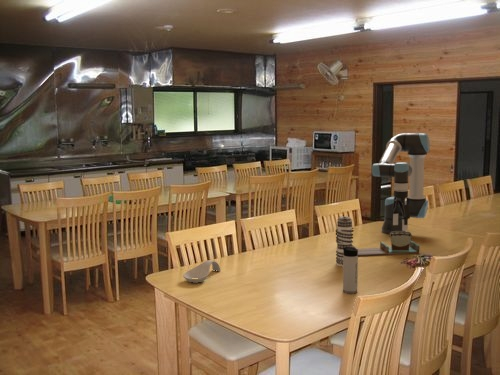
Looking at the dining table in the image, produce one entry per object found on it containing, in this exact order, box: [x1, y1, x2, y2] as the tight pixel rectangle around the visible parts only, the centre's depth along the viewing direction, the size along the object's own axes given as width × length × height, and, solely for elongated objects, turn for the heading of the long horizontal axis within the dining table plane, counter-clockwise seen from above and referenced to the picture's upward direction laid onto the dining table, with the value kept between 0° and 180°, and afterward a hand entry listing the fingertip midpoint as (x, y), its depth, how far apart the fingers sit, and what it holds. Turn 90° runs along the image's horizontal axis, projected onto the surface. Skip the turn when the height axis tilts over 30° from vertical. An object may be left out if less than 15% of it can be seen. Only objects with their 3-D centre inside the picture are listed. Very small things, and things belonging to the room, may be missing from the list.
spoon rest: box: [183, 260, 221, 284], centre depth 244 cm, size 24×12×7 cm, turn 151°
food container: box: [389, 231, 413, 251], centre depth 284 cm, size 12×6×10 cm, turn 86°
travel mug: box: [342, 247, 359, 295], centre depth 221 cm, size 6×7×20 cm
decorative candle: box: [335, 215, 355, 268], centre depth 260 cm, size 9×9×25 cm
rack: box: [352, 239, 421, 257], centre depth 283 cm, size 12×36×5 cm, turn 95°
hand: (400, 227), depth 283 cm, fingers open, 13 cm apart
